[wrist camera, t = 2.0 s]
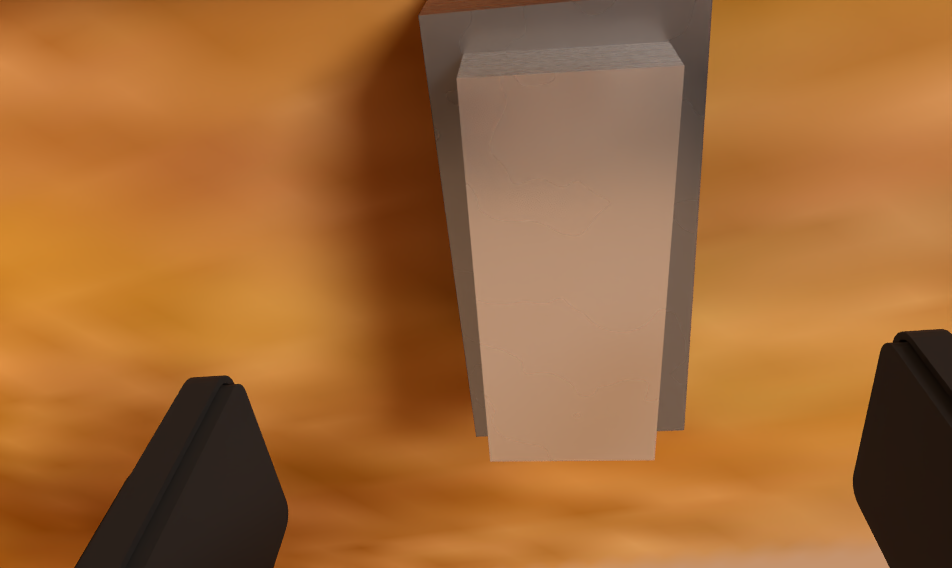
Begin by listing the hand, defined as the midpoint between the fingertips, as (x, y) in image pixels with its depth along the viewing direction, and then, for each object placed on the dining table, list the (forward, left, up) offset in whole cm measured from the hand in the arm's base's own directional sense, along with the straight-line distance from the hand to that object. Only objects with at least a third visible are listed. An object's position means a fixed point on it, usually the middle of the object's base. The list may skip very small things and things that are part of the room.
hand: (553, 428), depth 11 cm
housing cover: (0, 0, -5) cm, 5 cm away
